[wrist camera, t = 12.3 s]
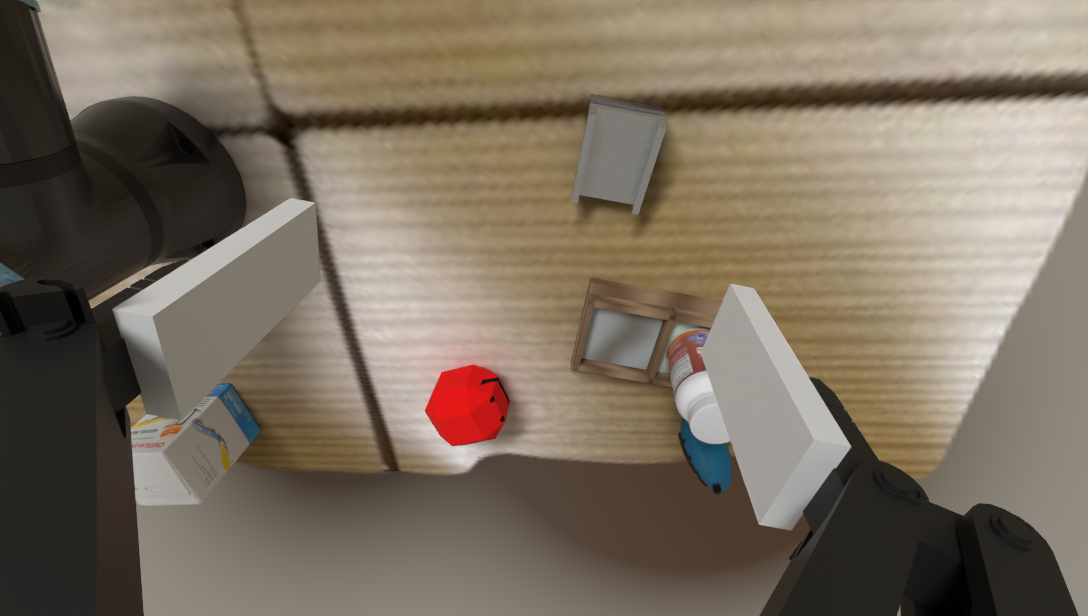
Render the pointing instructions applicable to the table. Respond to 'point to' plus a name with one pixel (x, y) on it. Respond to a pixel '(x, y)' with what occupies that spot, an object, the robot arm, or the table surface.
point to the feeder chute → (618, 150)
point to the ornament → (707, 460)
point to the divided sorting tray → (635, 329)
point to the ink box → (190, 449)
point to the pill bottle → (695, 386)
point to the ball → (468, 405)
